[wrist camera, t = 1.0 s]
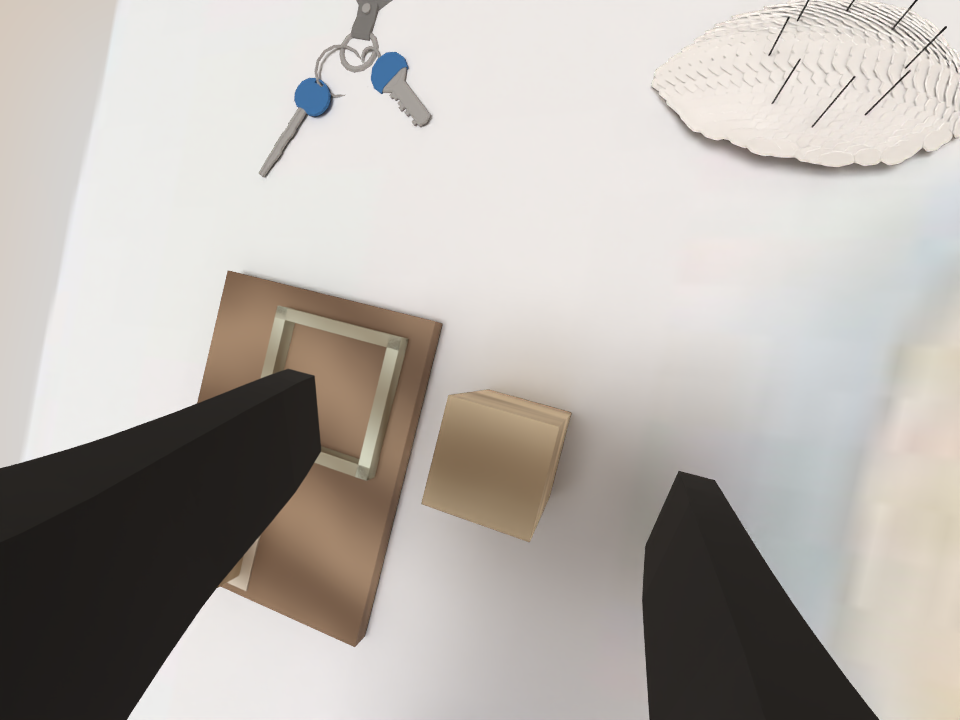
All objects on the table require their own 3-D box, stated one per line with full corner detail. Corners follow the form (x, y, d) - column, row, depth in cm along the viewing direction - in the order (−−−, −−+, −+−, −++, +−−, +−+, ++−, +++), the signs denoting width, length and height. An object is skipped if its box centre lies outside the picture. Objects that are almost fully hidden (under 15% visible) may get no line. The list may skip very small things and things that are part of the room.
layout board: (364, 636, 24) (270, 740, 17) (177, 552, 27) (33, 613, 20) (442, 323, 23) (376, 303, 16) (241, 274, 26) (115, 239, 19)
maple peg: (549, 497, 22) (529, 542, 16) (467, 470, 23) (421, 504, 17) (571, 412, 22) (559, 426, 16) (488, 389, 23) (448, 394, 17)
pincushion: (632, 152, 22) (642, 77, 16) (671, 18, 21) (694, -105, 16) (943, 202, 19) (1084, 131, 13) (992, 47, 18) (1157, -91, 13)
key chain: (366, -68, 25) (358, -82, 25) (502, -29, 24) (499, -44, 23) (263, 177, 27) (252, 171, 26) (385, 233, 25) (378, 228, 24)
